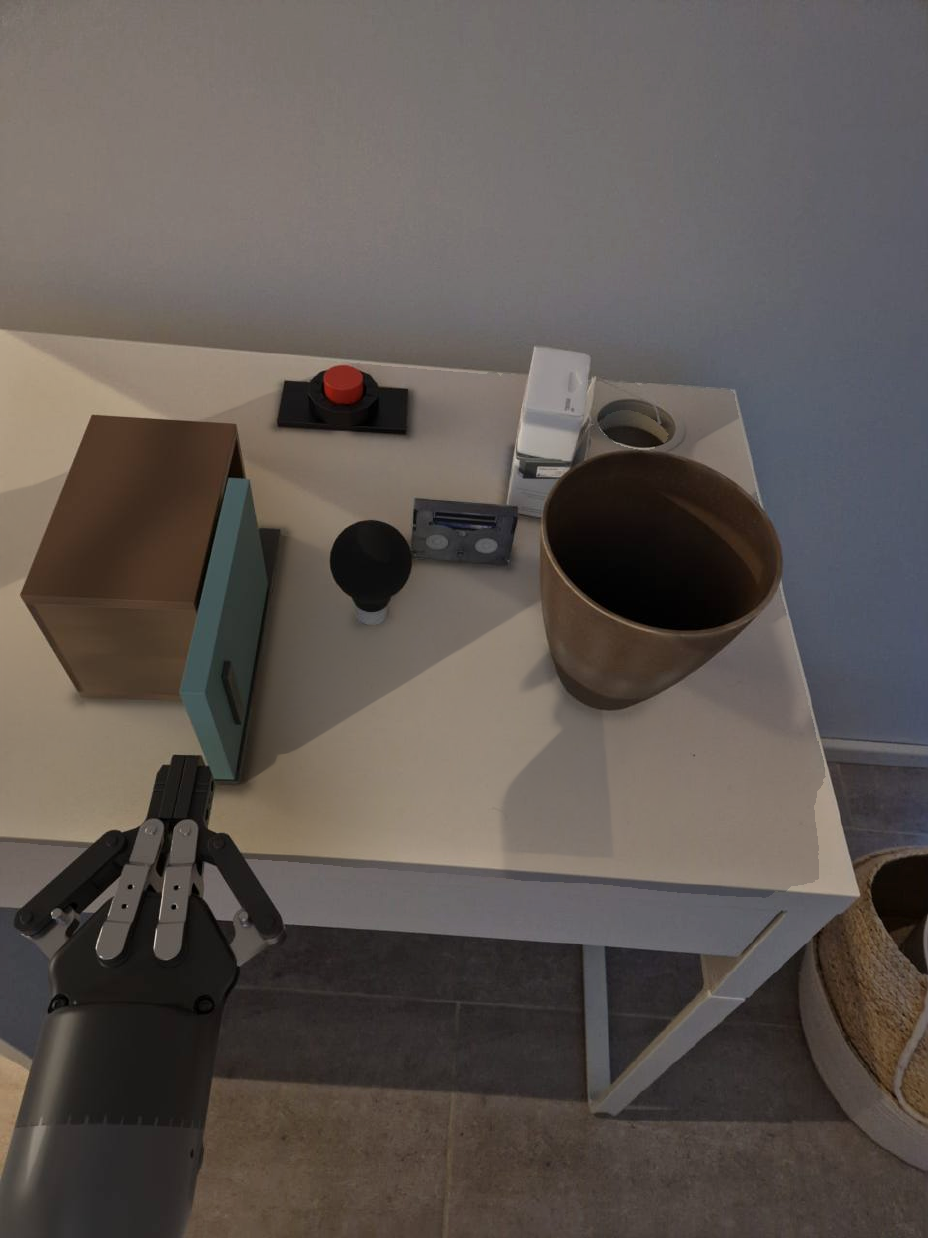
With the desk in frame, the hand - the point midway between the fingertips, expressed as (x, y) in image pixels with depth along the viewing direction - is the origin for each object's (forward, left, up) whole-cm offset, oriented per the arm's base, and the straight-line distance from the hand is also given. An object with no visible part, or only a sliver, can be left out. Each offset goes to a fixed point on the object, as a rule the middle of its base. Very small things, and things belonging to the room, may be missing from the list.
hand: (190, 761), depth 43 cm
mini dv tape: (+16, +24, -10) cm, 31 cm away
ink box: (+23, +33, -10) cm, 42 cm away
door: (0, +11, -9) cm, 14 cm away
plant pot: (+27, +13, -10) cm, 32 cm away
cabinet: (-5, +14, -10) cm, 18 cm away
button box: (+5, +42, -10) cm, 43 cm away
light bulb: (+9, +17, -10) cm, 22 cm away
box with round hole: (+31, +37, -10) cm, 49 cm away
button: (+5, +42, -8) cm, 43 cm away
